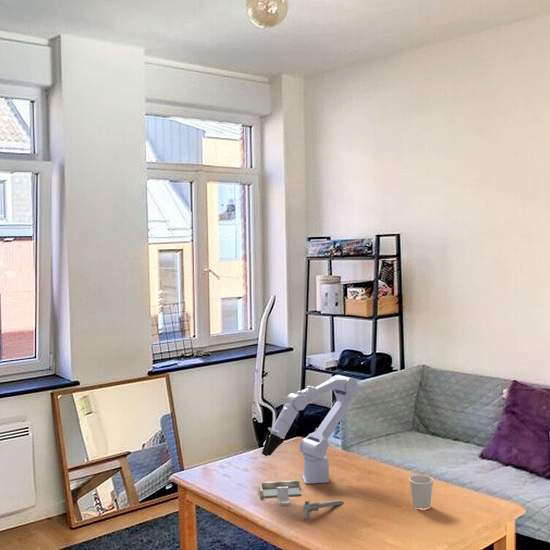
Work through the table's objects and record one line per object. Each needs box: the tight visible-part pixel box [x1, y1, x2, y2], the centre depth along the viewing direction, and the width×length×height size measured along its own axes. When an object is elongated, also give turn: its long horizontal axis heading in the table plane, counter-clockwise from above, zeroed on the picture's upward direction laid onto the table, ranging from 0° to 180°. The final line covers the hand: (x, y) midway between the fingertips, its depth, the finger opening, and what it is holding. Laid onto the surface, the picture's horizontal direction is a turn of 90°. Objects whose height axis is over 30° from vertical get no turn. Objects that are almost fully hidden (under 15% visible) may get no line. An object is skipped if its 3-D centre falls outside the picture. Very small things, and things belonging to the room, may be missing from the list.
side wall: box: [258, 482, 263, 499], centre depth 246 cm, size 1×8×2 cm, turn 6°
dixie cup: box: [408, 474, 435, 509], centre depth 230 cm, size 8×8×10 cm
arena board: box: [262, 486, 302, 498], centre depth 247 cm, size 14×8×1 cm, turn 95°
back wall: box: [259, 479, 301, 488], centre depth 251 cm, size 15×1×2 cm, turn 95°
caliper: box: [302, 499, 344, 521], centre depth 229 cm, size 20×1×6 cm, turn 135°
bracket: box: [276, 486, 291, 506], centre depth 238 cm, size 6×4×4 cm, turn 5°
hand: (265, 454), depth 245 cm, fingers open, 7 cm apart
